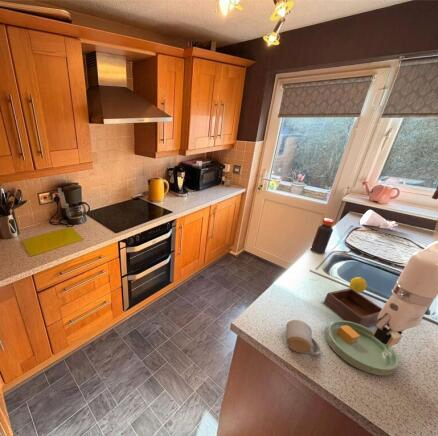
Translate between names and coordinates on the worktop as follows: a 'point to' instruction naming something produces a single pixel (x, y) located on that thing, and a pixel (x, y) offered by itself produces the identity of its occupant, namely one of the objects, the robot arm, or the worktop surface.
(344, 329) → the orange block
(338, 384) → the worktop surface
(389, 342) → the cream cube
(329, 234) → the bottle
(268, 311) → the worktop surface
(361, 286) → the lemon
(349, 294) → the holder
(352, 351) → the plate
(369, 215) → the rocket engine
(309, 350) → the ceramic mug
